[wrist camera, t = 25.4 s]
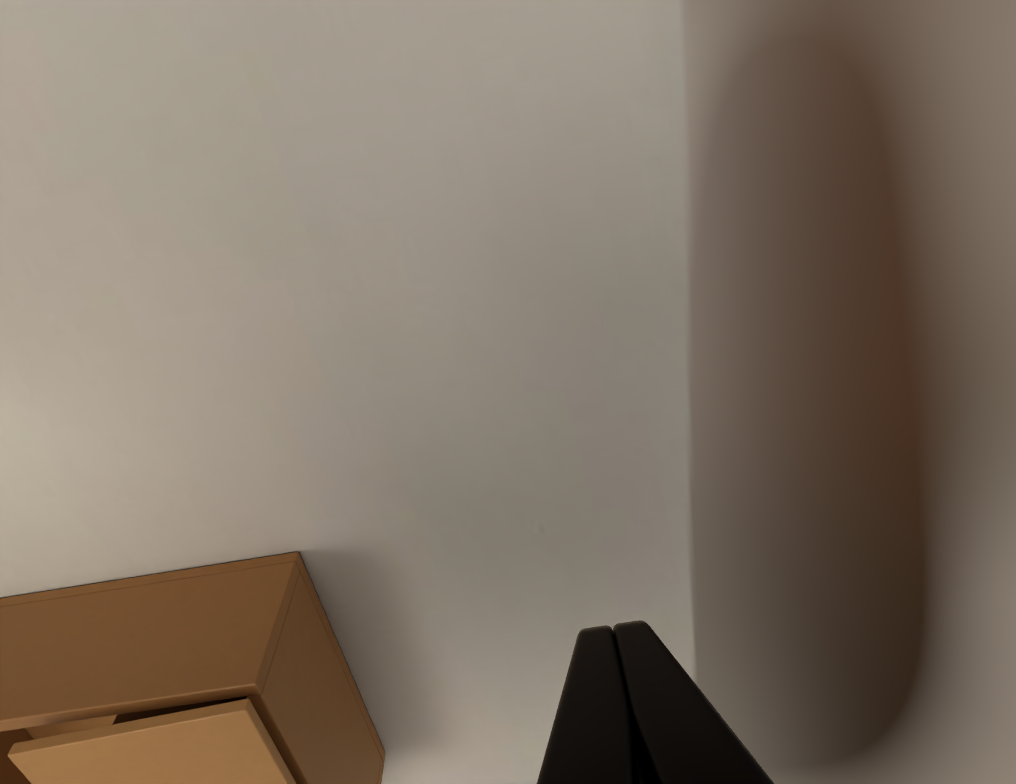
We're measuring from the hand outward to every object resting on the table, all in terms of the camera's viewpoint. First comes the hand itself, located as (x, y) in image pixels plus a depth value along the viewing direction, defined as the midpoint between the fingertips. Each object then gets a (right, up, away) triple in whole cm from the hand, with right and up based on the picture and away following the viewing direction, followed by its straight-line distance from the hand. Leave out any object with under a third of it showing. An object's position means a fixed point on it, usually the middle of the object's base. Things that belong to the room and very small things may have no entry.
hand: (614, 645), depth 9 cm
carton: (-15, -9, +19) cm, 26 cm away
